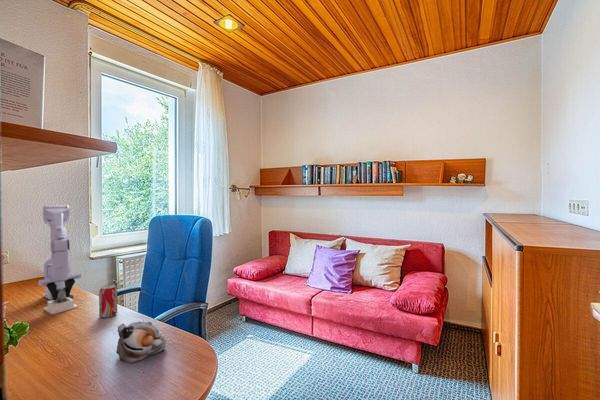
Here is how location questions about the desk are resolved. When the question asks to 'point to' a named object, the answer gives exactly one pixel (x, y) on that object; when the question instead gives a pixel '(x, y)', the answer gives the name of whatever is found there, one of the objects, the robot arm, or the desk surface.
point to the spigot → (61, 295)
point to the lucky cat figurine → (138, 341)
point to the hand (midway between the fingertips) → (60, 298)
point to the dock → (60, 305)
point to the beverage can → (107, 301)
